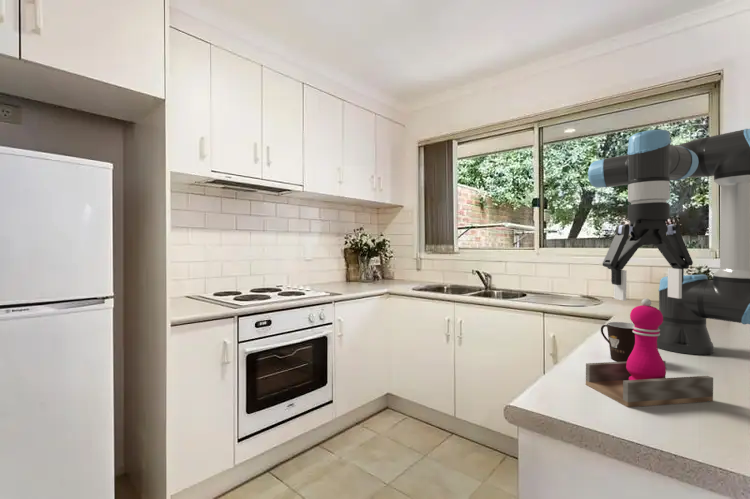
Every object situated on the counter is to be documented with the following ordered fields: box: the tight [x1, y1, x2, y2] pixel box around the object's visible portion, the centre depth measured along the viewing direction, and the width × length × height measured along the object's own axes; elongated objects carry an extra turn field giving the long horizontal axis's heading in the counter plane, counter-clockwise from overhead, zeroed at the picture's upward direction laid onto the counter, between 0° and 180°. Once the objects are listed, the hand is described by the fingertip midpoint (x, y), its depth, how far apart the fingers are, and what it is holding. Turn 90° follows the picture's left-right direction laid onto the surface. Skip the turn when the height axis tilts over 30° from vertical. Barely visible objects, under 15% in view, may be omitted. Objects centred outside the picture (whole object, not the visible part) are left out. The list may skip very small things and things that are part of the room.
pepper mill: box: [626, 298, 667, 380], centre depth 85 cm, size 7×7×20 cm
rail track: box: [585, 359, 714, 408], centre depth 85 cm, size 20×12×5 cm, turn 98°
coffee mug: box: [600, 321, 635, 362], centre depth 109 cm, size 12×9×10 cm
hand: (647, 298), depth 85 cm, fingers open, 13 cm apart
